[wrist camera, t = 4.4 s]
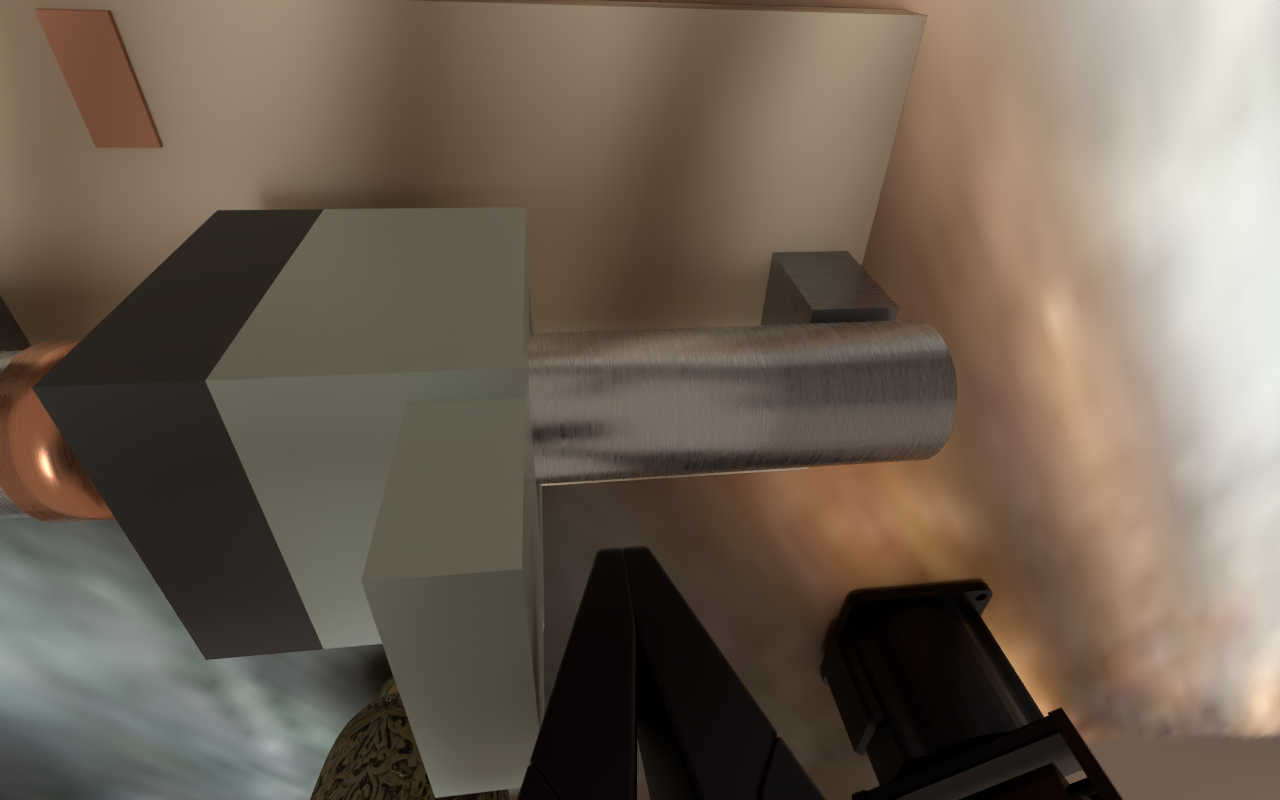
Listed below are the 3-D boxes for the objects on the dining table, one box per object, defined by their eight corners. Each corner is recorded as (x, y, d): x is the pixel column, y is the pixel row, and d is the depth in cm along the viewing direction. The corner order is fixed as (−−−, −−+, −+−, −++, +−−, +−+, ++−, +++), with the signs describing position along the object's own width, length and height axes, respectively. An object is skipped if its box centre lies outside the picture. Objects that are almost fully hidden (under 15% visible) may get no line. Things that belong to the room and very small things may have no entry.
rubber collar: (323, 209, 13) (205, 380, 8) (383, 437, 17) (323, 649, 12) (217, 210, 13) (31, 387, 8) (300, 442, 16) (205, 659, 12)
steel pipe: (851, 234, 17) (983, 370, 12) (824, 344, 19) (927, 499, 14) (-134, 250, 14) (-498, 436, 9) (-43, 378, 16) (-298, 587, 11)
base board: (905, 10, 15) (930, 16, 14) (798, 448, 22) (809, 471, 21) (-303, -28, 12) (-372, -22, 11) (57, 493, 19) (35, 520, 19)
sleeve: (525, 207, 14) (518, 536, 6) (541, 429, 17) (547, 798, 10) (323, 209, 13) (74, 569, 6) (383, 437, 17) (271, 833, 10)
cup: (301, 643, 25) (223, 890, 19) (489, 604, 25) (475, 837, 19) (378, 732, 30) (336, 956, 23) (537, 700, 30) (538, 914, 23)
